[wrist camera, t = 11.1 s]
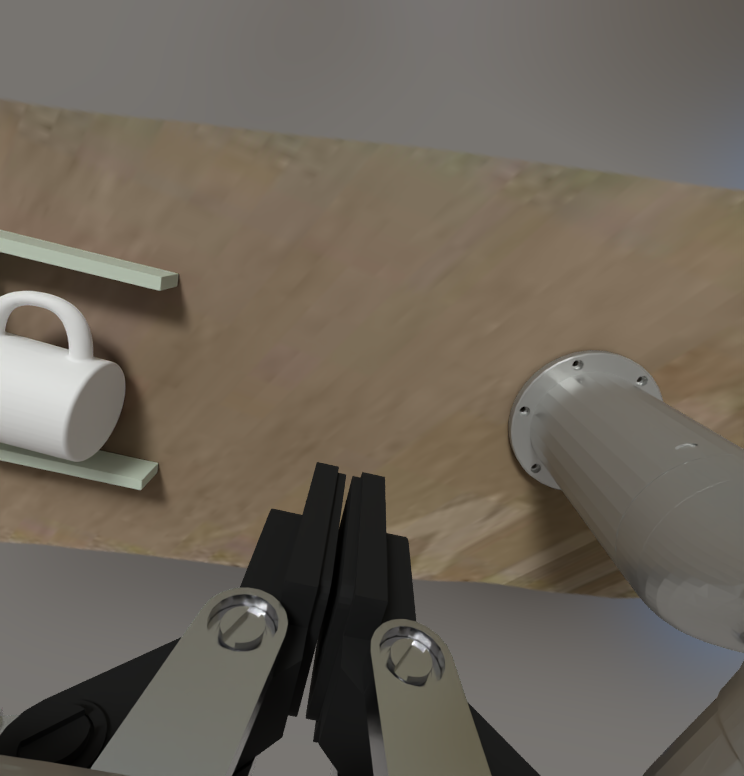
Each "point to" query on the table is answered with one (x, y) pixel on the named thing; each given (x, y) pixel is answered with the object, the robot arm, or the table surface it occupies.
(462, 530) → the table surface
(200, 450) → the table surface
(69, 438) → the mug
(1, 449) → the green u-shaped bracket
